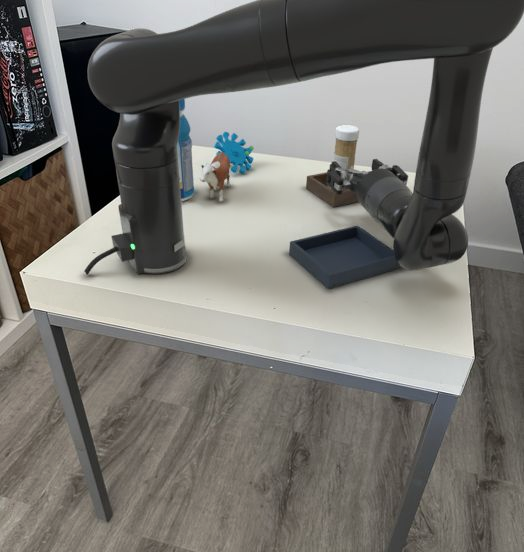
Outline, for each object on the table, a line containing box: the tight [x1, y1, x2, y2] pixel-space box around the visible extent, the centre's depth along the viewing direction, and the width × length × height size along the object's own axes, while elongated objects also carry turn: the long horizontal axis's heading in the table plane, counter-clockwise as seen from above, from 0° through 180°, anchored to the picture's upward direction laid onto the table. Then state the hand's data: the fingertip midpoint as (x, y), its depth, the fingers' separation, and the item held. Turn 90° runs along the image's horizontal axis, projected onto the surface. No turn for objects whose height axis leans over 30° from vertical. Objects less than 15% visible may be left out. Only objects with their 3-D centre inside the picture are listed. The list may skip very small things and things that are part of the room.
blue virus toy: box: [213, 131, 255, 175], centre depth 120 cm, size 11×6×10 cm
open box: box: [305, 171, 360, 208], centre depth 110 cm, size 11×11×3 cm
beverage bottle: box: [177, 99, 195, 202], centre depth 102 cm, size 8×8×20 cm
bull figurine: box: [199, 151, 231, 203], centre depth 106 cm, size 4×13×8 cm, turn 168°
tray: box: [288, 225, 400, 290], centre depth 88 cm, size 14×12×2 cm
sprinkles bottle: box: [332, 124, 360, 191], centre depth 107 cm, size 5×5×14 cm
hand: (353, 165), depth 103 cm, fingers open, 8 cm apart
